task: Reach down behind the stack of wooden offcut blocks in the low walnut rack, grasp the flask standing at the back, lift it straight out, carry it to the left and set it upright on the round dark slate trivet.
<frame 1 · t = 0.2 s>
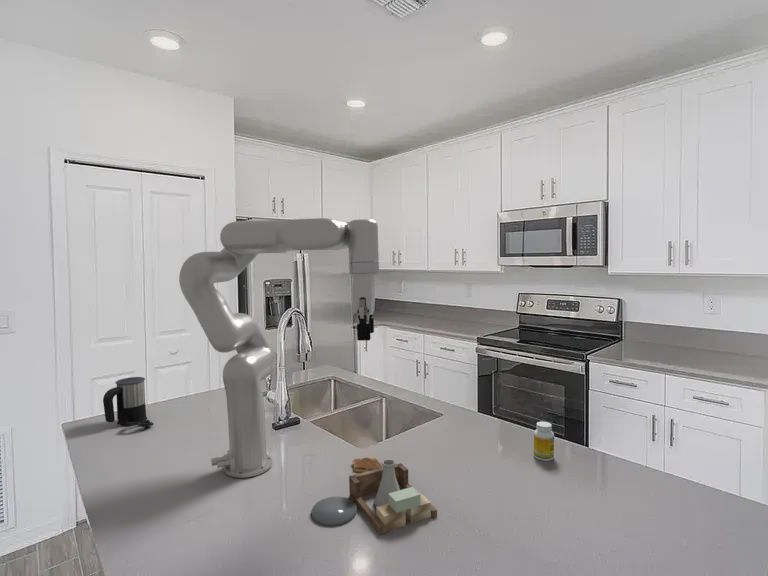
hand: (365, 336, 114), 37 cm above the countertop, tool pointing down, fingers open, 9 cm apart
walnut rack: (377, 490, 110), on the countertop
milk frother: (136, 425, 154), on the countertop
shard: (372, 470, 121), on the countertop
flask: (389, 504, 104), on the countertop
sage painted offcut block: (404, 504, 97), point 3 cm above the countertop
supplement bottle: (543, 457, 126), on the countertop
slate trivet: (334, 512, 101), on the countertop
oak offcut block: (390, 524, 96), on the countertop
birch offcut block: (416, 515, 99), on the countertop
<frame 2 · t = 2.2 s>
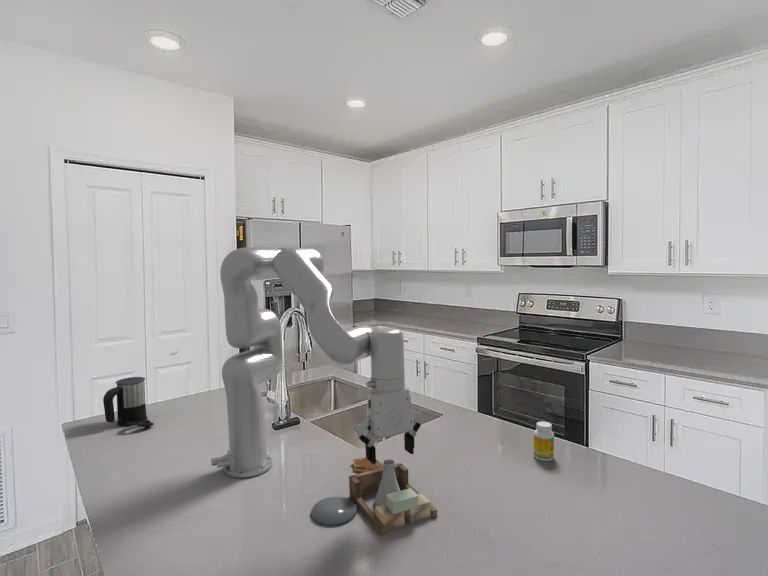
hand: (390, 456, 103), 11 cm above the countertop, tool pointing down, fingers open, 9 cm apart
sage painted offcut block: (402, 506, 97), point 3 cm above the countertop, touching birch offcut block, oak offcut block
oak offcut block: (389, 523, 96), on the countertop, touching sage painted offcut block
birch offcut block: (416, 515, 99), on the countertop, touching sage painted offcut block
everything else where it was.
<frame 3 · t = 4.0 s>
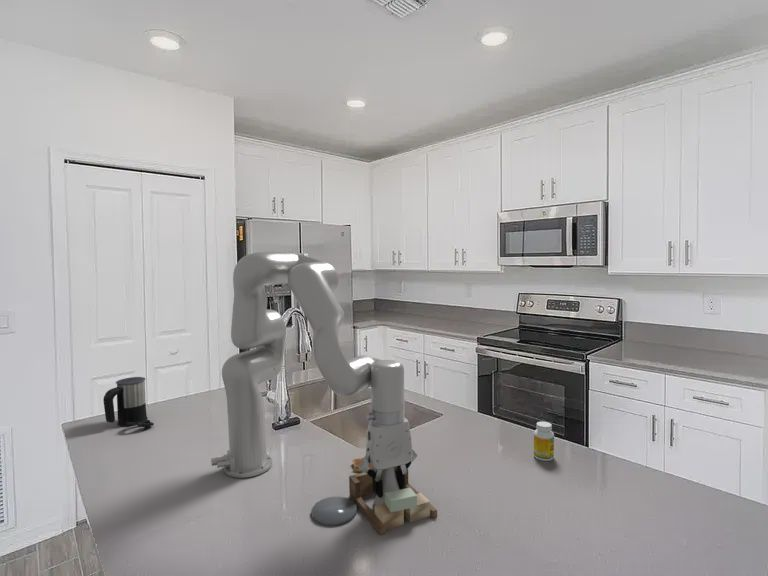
hand: (388, 491, 104), 3 cm above the countertop, tool pointing down, fingers closed on flask, 4 cm apart
flask: (389, 504, 104), on the countertop, touching gripper
sage painted offcut block: (400, 505, 97), point 3 cm above the countertop
oak offcut block: (389, 522, 97), on the countertop
birch offcut block: (415, 515, 100), on the countertop
everything else where it was.
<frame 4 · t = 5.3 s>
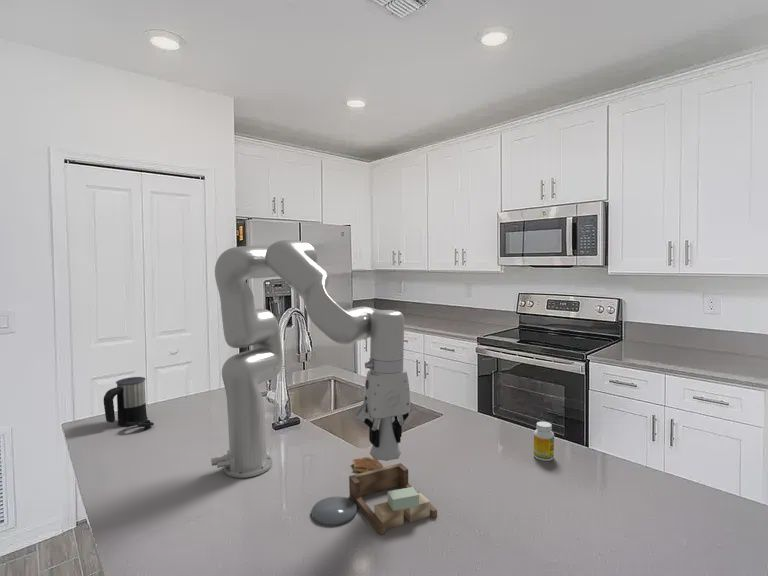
hand: (385, 441, 103), 15 cm above the countertop, tool pointing down, fingers closed on flask, 4 cm apart
flask: (385, 455, 103), point 11 cm above the countertop, touching gripper
sage painted offcut block: (403, 504, 98), point 3 cm above the countertop, touching oak offcut block
oak offcut block: (388, 522, 97), on the countertop, touching sage painted offcut block
everything else where it was.
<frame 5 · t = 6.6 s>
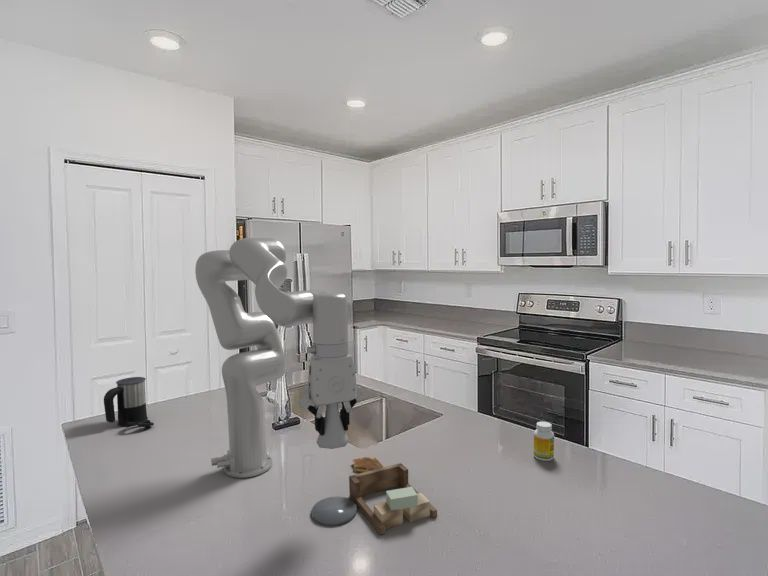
hand: (332, 430, 99), 19 cm above the countertop, tool pointing down, fingers closed on flask, 4 cm apart
flask: (332, 443, 99), point 16 cm above the countertop, touching gripper
sage painted offcut block: (401, 503, 98), point 3 cm above the countertop
oak offcut block: (388, 522, 97), on the countertop
everything else where it was.
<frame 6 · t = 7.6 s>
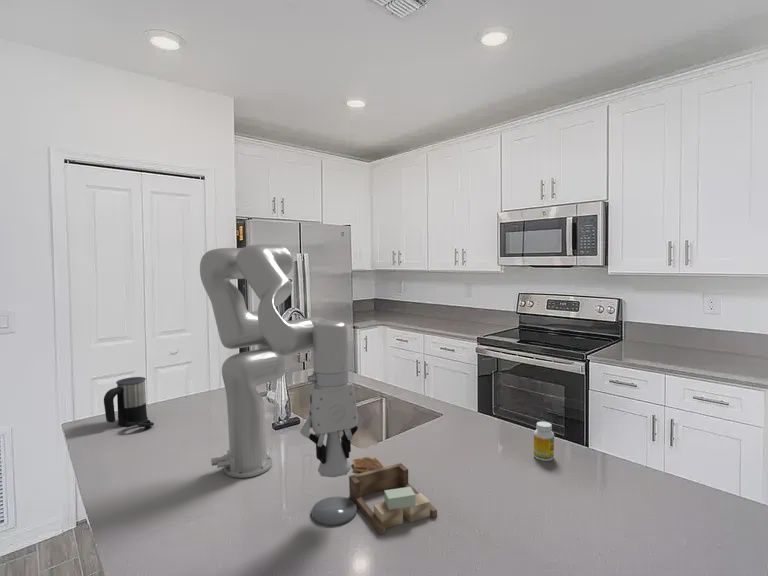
hand: (333, 457, 100), 13 cm above the countertop, tool pointing down, fingers closed on flask, 4 cm apart
flask: (334, 471, 100), point 10 cm above the countertop, touching gripper
sage painted offcut block: (399, 503, 98), point 3 cm above the countertop, touching birch offcut block
birch offcut block: (415, 515, 100), on the countertop, touching sage painted offcut block
everything else where it was.
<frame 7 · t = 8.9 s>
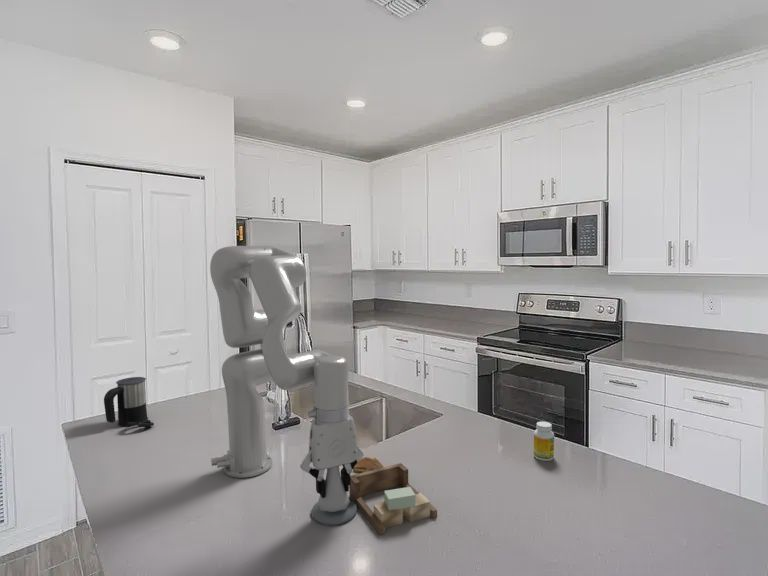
hand: (333, 491, 100), 5 cm above the countertop, tool pointing down, fingers closed on flask, 4 cm apart
flask: (333, 504, 101), point 2 cm above the countertop, touching gripper
sage painted offcut block: (399, 503, 98), point 3 cm above the countertop
birch offcut block: (415, 515, 100), on the countertop
everything else where it was.
when the fingers open (5 cm above the countertop, at t = 9.5 s): flask drops 1 cm, resting on slate trivet.
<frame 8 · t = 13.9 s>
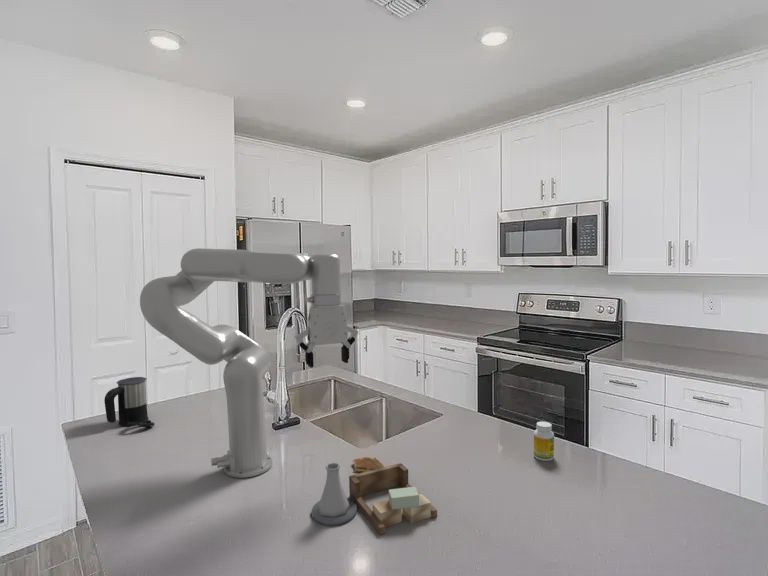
hand: (327, 364, 120), 28 cm above the countertop, tool pointing down, fingers open, 9 cm apart
flask: (333, 509, 101), point 1 cm above the countertop, touching slate trivet
sage painted offcut block: (403, 503, 98), point 3 cm above the countertop, touching birch offcut block
oak offcut block: (387, 520, 98), on the countertop, touching walnut rack
birch offcut block: (416, 516, 99), on the countertop, touching sage painted offcut block
everything else where it was.
at the end: flask 0.2 cm from the slate trivet (horizontally); flask point 0.6 cm above the countertop; flask tilted 0° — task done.
